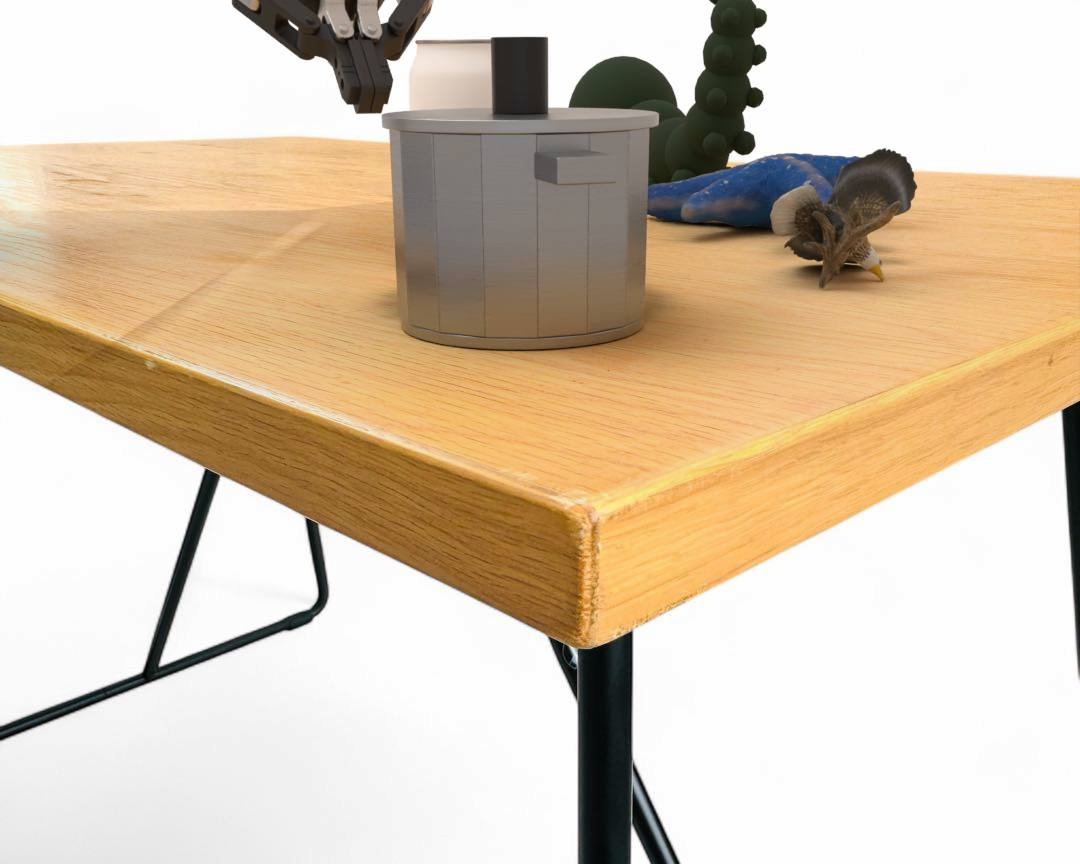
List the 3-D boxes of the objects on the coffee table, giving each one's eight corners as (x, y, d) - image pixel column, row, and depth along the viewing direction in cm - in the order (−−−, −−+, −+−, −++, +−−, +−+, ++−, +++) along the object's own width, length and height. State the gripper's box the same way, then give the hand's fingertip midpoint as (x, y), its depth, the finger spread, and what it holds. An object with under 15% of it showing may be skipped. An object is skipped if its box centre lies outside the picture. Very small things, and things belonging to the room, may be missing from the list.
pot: (450, 374, 46) (443, 140, 43) (367, 298, 61) (357, 119, 57) (712, 352, 49) (722, 133, 46) (574, 285, 64) (575, 114, 61)
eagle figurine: (940, 272, 60) (946, 216, 67) (869, 148, 58) (883, 104, 65) (805, 342, 64) (824, 282, 71) (734, 228, 62) (762, 178, 69)
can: (526, 291, 62) (524, 38, 58) (403, 288, 63) (392, 39, 59) (544, 270, 68) (543, 40, 64) (431, 268, 69) (422, 41, 65)
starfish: (694, 204, 97) (696, 139, 95) (925, 220, 88) (933, 148, 86) (570, 232, 83) (570, 156, 81) (831, 254, 73) (838, 168, 71)
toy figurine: (776, 228, 96) (619, 174, 116) (808, -35, 88) (633, -46, 108) (676, 236, 92) (531, 178, 112) (699, -39, 84) (538, -49, 104)
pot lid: (418, 153, 45) (413, 35, 44) (359, 135, 56) (353, 39, 54) (705, 145, 49) (710, 34, 47) (599, 129, 59) (600, 38, 58)
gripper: (200, -177, 70) (263, 52, 64) (418, -160, 75) (496, 54, 69) (194, -66, 76) (251, 152, 70) (395, -57, 81) (464, 146, 75)
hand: (372, 103), depth 69 cm, fingers closed
